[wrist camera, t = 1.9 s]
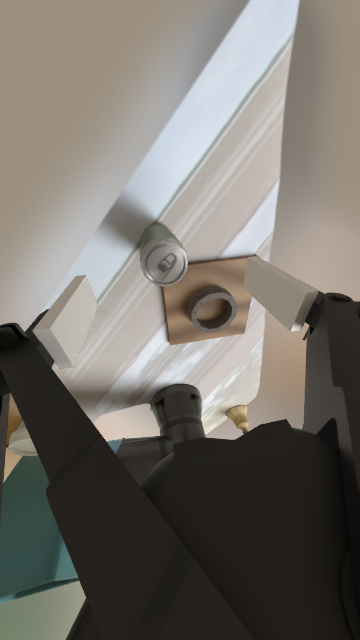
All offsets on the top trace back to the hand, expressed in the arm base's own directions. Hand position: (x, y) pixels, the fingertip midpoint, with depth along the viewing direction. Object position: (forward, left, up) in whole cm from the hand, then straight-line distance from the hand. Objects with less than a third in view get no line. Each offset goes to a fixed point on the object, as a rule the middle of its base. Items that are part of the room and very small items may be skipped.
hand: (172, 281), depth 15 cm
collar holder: (-13, -9, -17) cm, 23 cm away
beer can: (0, 0, -17) cm, 17 cm away
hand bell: (-62, -22, -17) cm, 68 cm away
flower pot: (-55, +34, -17) cm, 67 cm away
